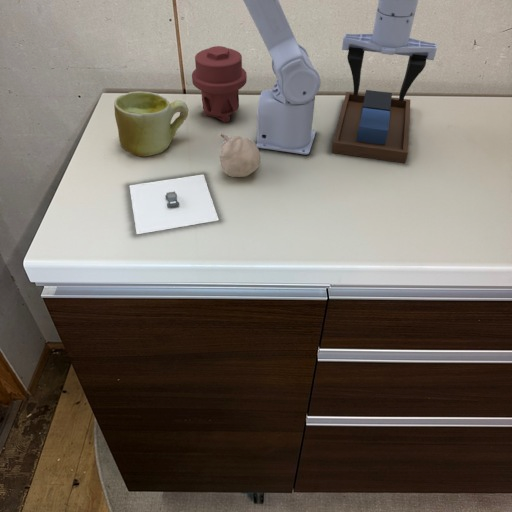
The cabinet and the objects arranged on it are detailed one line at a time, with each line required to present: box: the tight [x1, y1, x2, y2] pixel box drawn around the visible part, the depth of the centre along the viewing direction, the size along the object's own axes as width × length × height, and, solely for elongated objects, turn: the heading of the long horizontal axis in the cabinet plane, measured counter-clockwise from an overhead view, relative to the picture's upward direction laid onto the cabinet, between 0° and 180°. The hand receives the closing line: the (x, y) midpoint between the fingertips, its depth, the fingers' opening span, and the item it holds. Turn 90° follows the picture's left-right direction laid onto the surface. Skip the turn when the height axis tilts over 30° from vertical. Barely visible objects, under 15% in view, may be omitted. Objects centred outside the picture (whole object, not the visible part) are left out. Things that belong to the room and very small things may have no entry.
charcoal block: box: [360, 89, 393, 120], centre depth 90 cm, size 5×7×3 cm
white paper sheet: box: [129, 174, 220, 235], centre depth 72 cm, size 12×12×2 cm
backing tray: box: [331, 91, 411, 164], centre depth 88 cm, size 13×20×2 cm, turn 166°
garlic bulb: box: [219, 133, 261, 178], centre depth 75 cm, size 7×6×8 cm
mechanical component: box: [191, 45, 248, 123], centre depth 88 cm, size 12×10×10 cm
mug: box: [113, 90, 190, 158], centre depth 81 cm, size 12×10×10 cm
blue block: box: [357, 108, 390, 145], centre depth 85 cm, size 5×7×3 cm
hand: (378, 95), depth 81 cm, fingers open, 7 cm apart
